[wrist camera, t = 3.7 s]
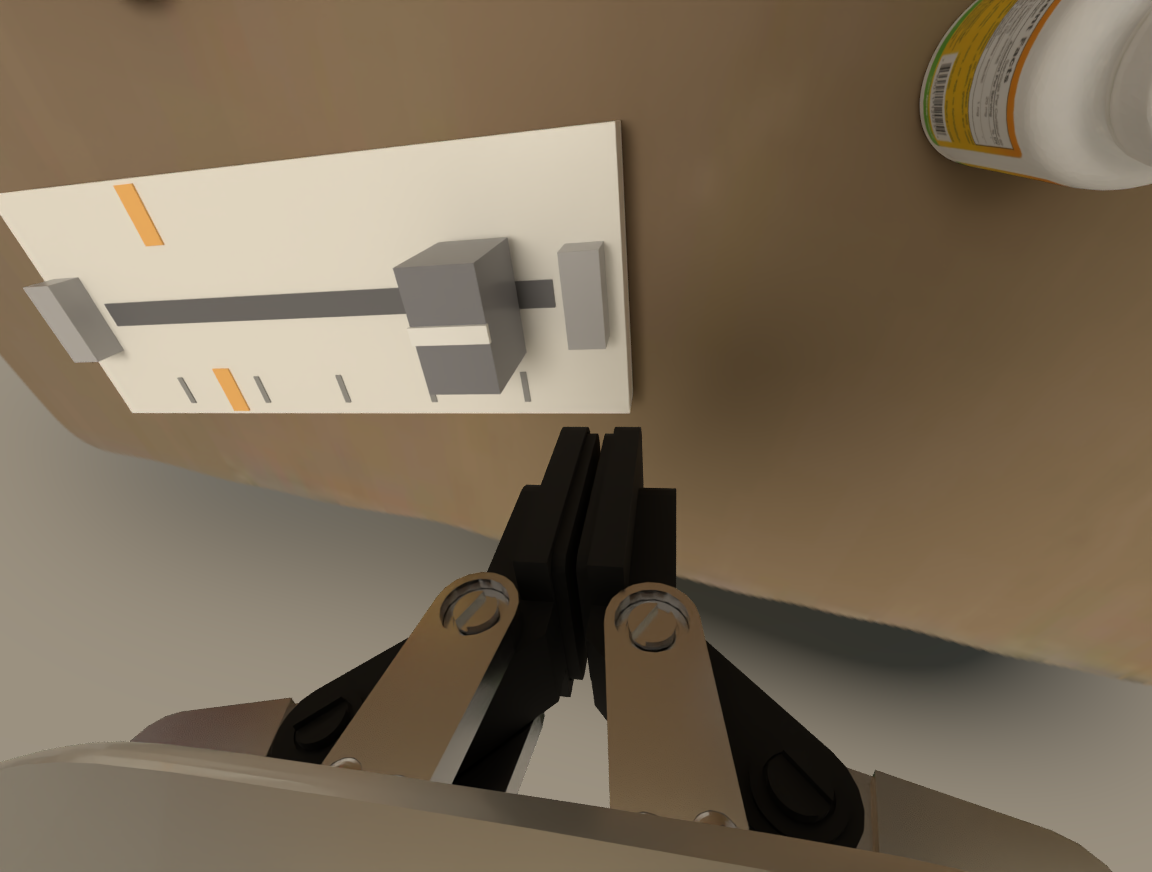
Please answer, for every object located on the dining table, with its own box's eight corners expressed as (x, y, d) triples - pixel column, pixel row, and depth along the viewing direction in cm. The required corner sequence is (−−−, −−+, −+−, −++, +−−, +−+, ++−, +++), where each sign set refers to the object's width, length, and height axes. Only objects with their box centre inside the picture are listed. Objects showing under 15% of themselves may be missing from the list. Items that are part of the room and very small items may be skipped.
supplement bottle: (1150, 41, 16) (1629, -26, 8) (984, 196, 19) (1209, 265, 11) (1035, -80, 15) (1445, -294, 7) (879, 104, 18) (1040, 104, 10)
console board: (620, 120, 19) (609, 122, 17) (633, 393, 26) (627, 429, 23) (32, 189, 25) (-51, 200, 23) (160, 397, 32) (109, 425, 29)
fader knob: (508, 236, 20) (473, 264, 17) (527, 352, 23) (500, 396, 19) (437, 242, 21) (389, 269, 17) (464, 353, 23) (426, 396, 20)
